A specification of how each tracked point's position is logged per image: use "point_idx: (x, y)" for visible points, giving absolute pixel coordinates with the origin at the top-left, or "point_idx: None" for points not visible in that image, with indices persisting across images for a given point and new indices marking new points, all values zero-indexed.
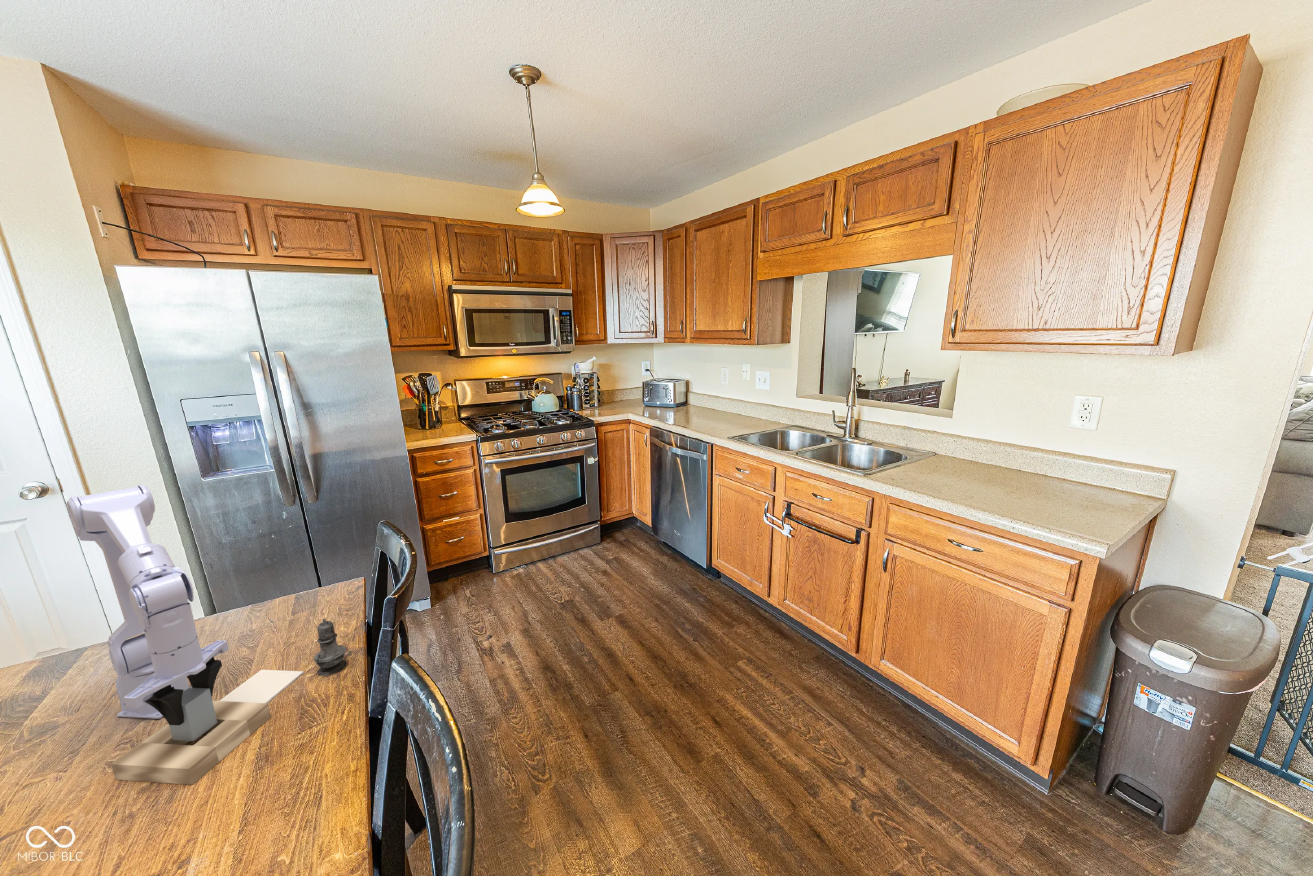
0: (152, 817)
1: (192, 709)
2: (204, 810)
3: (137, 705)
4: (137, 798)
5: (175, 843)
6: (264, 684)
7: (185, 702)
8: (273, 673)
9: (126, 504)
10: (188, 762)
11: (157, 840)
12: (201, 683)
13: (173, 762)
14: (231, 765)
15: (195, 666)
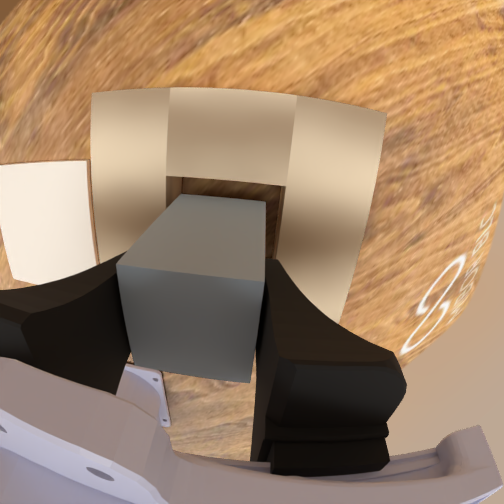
0: (442, 140)
1: (234, 252)
2: (431, 31)
3: (482, 440)
4: (388, 225)
5: (487, 48)
6: (32, 229)
7: (234, 303)
8: (9, 239)
9: None
10: (360, 136)
11: (484, 87)
12: (106, 327)
13: (354, 189)
14: (304, 52)
15: (60, 480)
